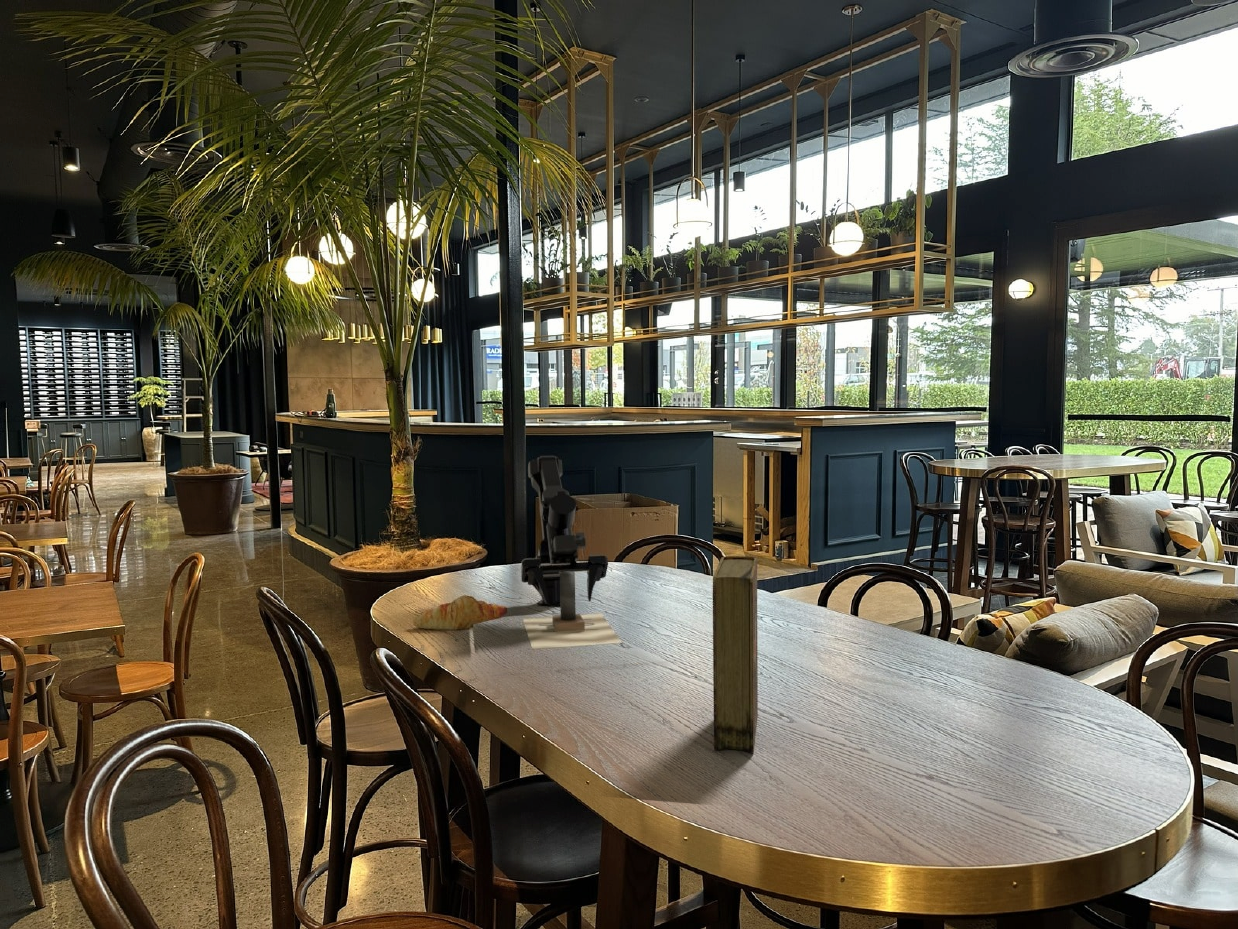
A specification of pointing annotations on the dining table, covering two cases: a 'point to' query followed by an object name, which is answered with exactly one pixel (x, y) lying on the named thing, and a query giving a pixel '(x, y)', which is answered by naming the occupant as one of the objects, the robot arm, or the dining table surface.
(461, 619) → the croissant
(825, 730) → the dining table surface
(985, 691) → the dining table surface
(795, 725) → the dining table surface
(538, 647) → the birch board
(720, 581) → the book
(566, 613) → the grey post on base
